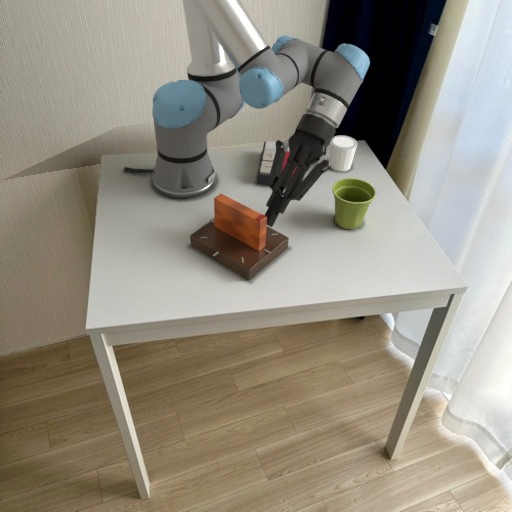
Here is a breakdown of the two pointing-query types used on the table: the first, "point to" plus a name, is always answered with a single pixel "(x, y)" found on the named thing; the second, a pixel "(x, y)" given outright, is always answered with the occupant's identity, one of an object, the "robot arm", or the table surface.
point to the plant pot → (352, 201)
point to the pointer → (240, 221)
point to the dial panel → (238, 249)
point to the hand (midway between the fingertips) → (266, 224)
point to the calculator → (269, 162)
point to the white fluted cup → (342, 152)
